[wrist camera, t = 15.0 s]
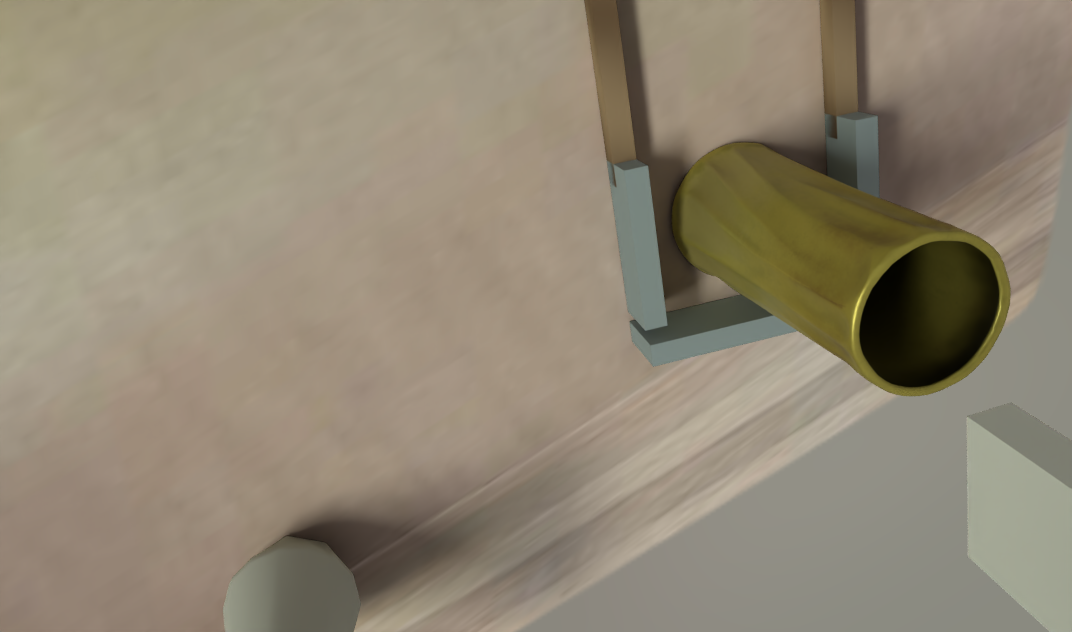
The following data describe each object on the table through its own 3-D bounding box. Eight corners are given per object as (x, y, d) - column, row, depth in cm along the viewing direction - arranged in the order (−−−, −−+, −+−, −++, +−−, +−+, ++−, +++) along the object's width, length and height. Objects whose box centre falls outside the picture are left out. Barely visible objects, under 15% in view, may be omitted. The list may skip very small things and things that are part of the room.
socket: (606, 160, 37) (627, 172, 34) (845, 108, 38) (884, 117, 35) (632, 341, 40) (653, 366, 37) (852, 287, 41) (888, 308, 38)
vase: (809, 145, 38) (1050, 219, 25) (785, 277, 40) (995, 411, 27) (680, 137, 37) (861, 211, 24) (661, 274, 39) (819, 412, 26)
